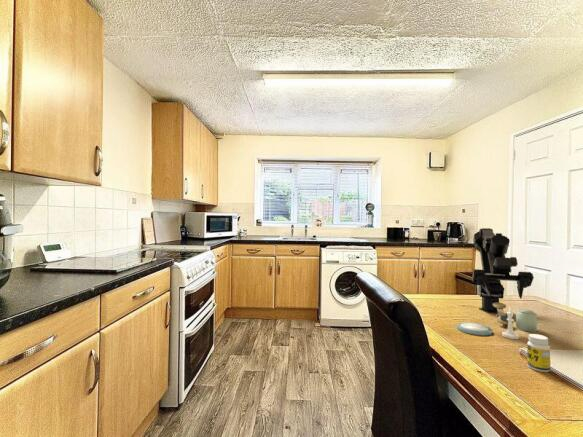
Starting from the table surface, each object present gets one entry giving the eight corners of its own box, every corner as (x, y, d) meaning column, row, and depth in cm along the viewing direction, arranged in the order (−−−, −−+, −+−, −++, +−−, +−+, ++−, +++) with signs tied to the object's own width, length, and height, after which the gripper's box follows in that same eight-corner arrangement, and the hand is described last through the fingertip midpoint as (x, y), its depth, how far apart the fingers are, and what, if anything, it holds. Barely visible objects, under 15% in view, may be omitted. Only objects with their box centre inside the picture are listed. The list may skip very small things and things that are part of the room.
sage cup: (512, 326, 114) (511, 308, 114) (526, 325, 115) (526, 308, 115) (526, 332, 108) (525, 313, 109) (541, 331, 109) (541, 312, 109)
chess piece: (516, 334, 106) (515, 305, 106) (521, 339, 101) (521, 309, 101) (499, 333, 107) (499, 304, 108) (504, 338, 103) (504, 308, 103)
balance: (492, 314, 129) (492, 301, 129) (505, 316, 127) (505, 303, 127) (497, 326, 114) (497, 311, 114) (512, 328, 112) (512, 313, 112)
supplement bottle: (522, 364, 83) (522, 333, 83) (538, 363, 84) (538, 332, 84) (538, 373, 78) (538, 340, 79) (555, 372, 79) (554, 339, 79)
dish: (450, 325, 115) (450, 322, 115) (477, 324, 116) (477, 321, 116) (471, 336, 104) (471, 332, 104) (500, 335, 105) (500, 331, 106)
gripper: (472, 248, 119) (478, 281, 109) (531, 250, 112) (543, 285, 101) (470, 266, 126) (474, 299, 116) (525, 269, 119) (535, 304, 108)
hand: (505, 296), depth 110 cm, fingers open, 9 cm apart
